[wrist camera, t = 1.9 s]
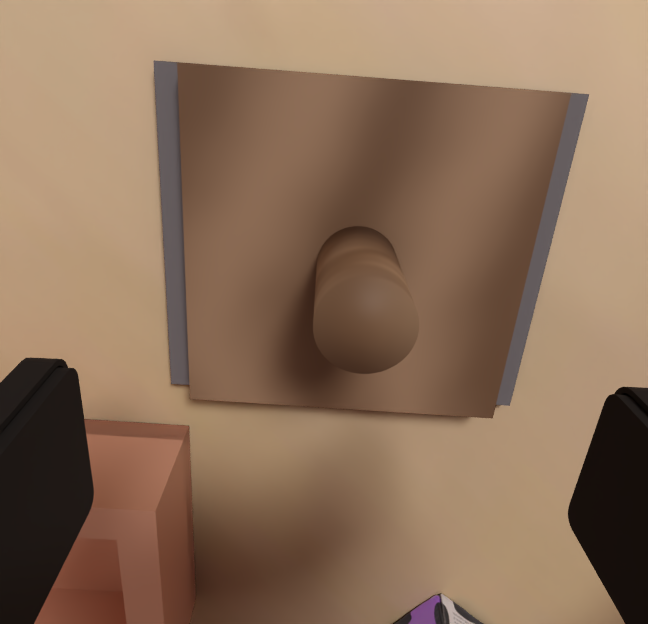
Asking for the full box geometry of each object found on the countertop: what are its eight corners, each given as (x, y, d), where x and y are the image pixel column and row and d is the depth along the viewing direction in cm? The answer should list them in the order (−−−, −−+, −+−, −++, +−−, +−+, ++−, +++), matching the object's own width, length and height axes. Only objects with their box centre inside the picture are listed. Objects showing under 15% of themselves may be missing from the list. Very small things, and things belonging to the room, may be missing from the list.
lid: (558, 92, 17) (665, 101, 12) (485, 404, 22) (537, 512, 17) (185, 63, 17) (116, 59, 11) (195, 385, 22) (151, 490, 16)
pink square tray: (188, 425, 23) (155, 511, 19) (195, 598, 28) (170, 701, 23) (-65, 410, 23) (-162, 492, 19) (-17, 586, 28) (-85, 687, 23)
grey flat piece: (581, 94, 18) (589, 94, 17) (505, 397, 23) (509, 405, 22) (159, 60, 17) (153, 60, 17) (175, 376, 22) (171, 383, 22)
